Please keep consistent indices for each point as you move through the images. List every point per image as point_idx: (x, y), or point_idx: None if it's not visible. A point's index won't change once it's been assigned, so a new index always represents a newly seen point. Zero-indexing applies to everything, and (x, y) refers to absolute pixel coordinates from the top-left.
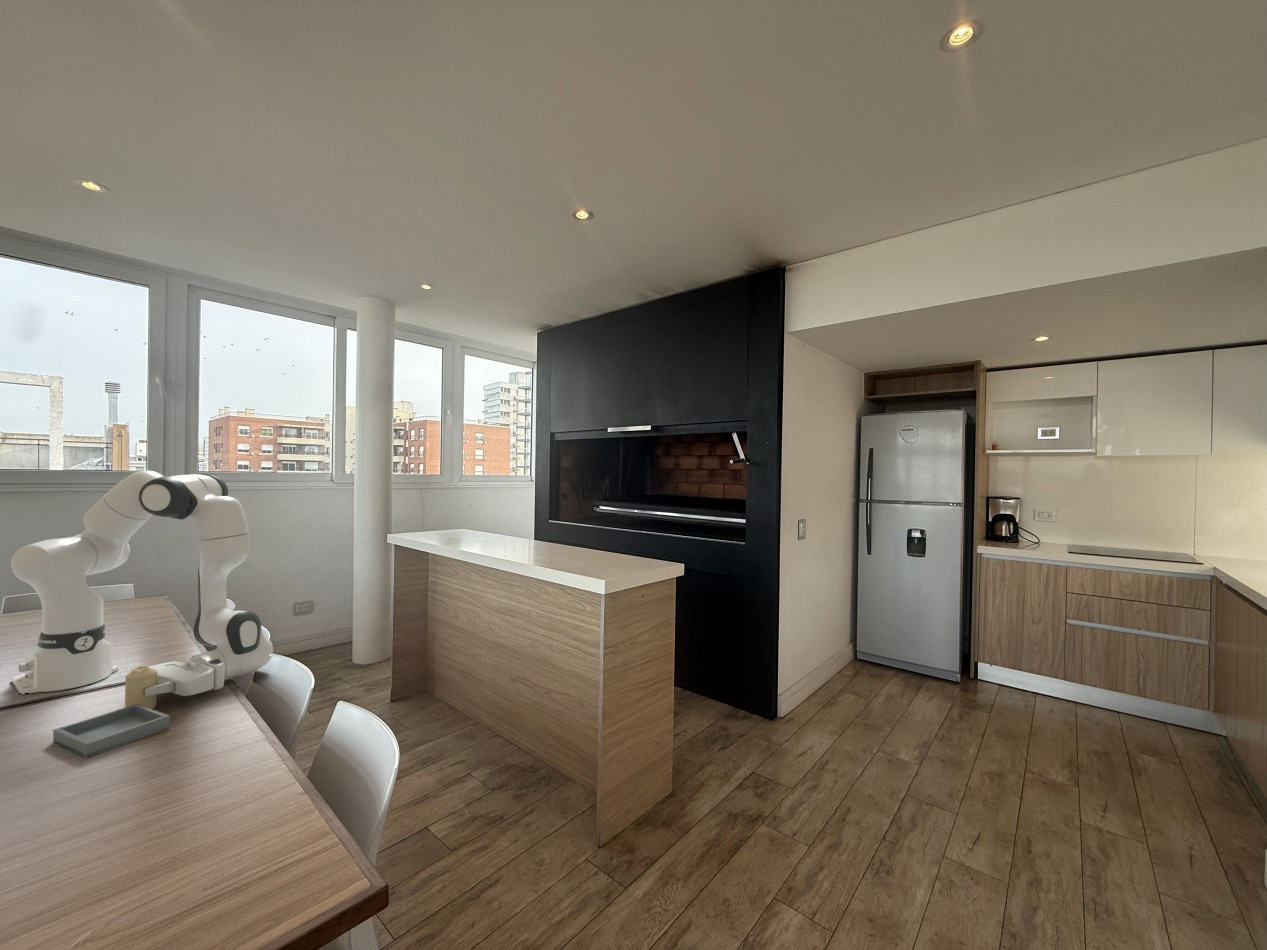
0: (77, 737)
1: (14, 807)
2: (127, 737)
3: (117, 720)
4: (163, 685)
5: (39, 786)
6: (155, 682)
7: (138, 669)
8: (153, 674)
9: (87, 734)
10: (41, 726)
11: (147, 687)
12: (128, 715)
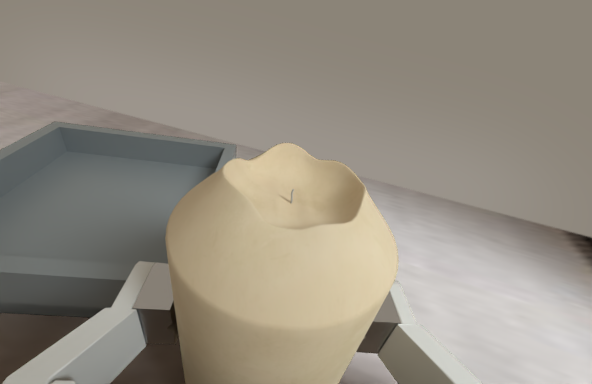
0: (122, 133)
1: (47, 95)
2: None
3: None
4: (47, 354)
5: (65, 114)
6: (186, 341)
7: (341, 196)
8: (169, 255)
9: (177, 186)
10: None
11: (163, 272)
12: None
